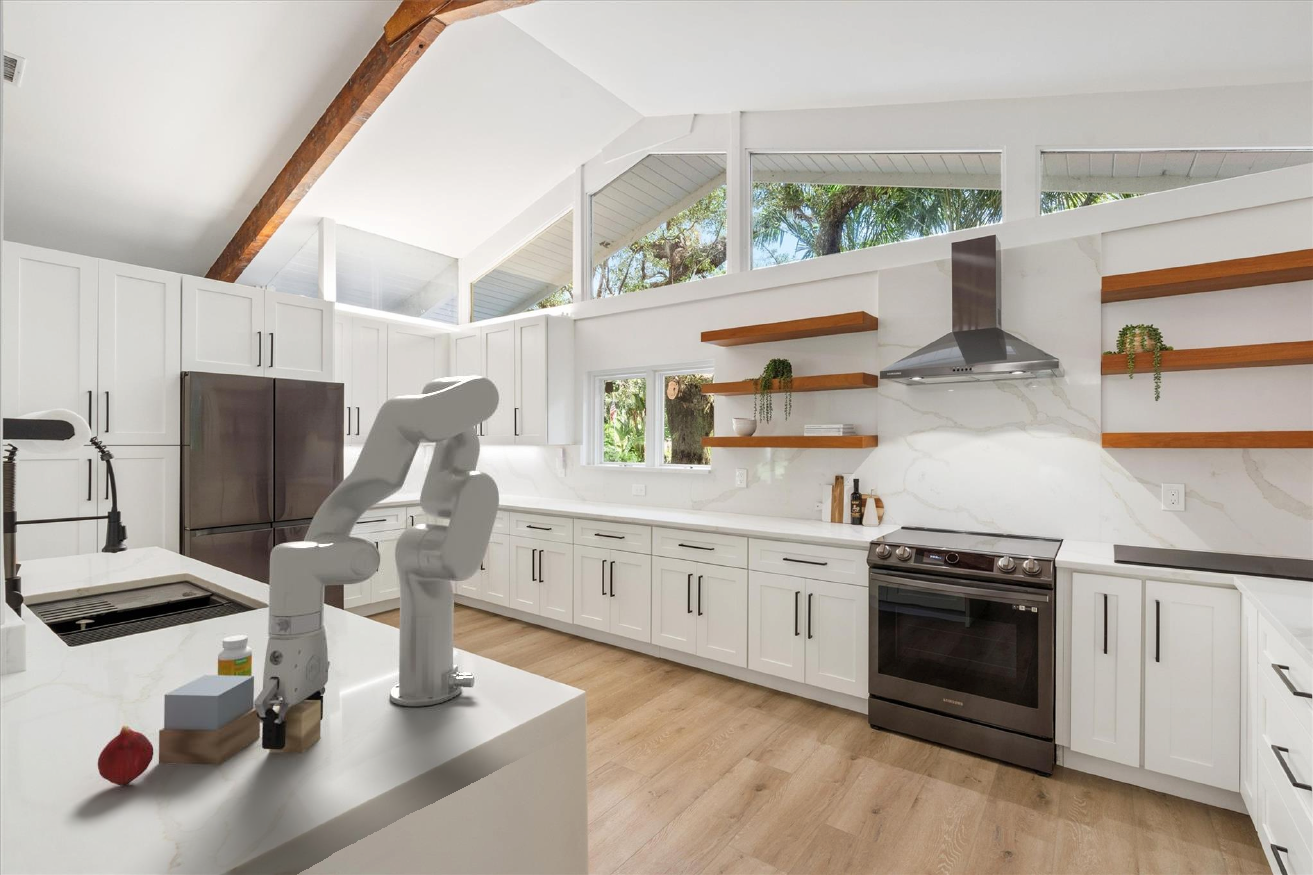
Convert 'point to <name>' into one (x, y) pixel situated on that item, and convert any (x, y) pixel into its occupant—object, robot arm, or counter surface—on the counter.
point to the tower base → (208, 741)
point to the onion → (125, 757)
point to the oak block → (301, 726)
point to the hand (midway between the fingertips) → (293, 733)
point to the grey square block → (208, 702)
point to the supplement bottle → (235, 657)
